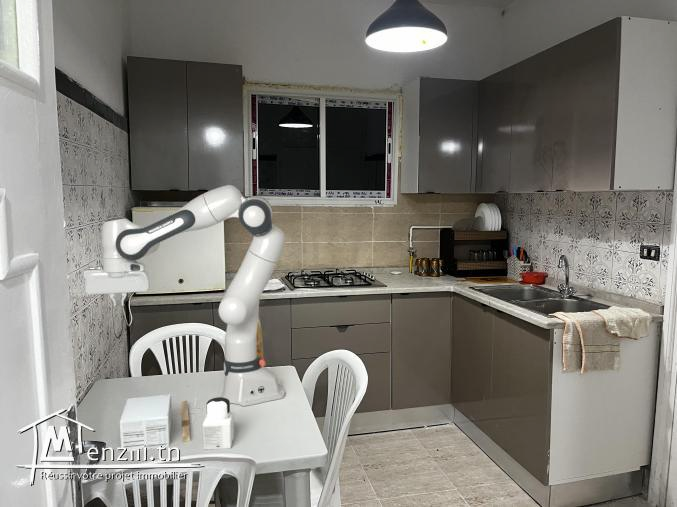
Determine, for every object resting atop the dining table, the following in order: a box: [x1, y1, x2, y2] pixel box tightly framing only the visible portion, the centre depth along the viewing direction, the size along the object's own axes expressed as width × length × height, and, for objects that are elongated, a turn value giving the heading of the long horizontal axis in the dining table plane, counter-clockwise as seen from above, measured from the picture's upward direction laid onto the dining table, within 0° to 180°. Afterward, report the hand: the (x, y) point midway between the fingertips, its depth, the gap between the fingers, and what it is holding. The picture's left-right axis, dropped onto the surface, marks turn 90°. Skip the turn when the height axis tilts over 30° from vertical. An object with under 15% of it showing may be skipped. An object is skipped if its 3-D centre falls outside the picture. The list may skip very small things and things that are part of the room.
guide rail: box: [180, 400, 191, 443], centre depth 159 cm, size 2×26×2 cm, turn 18°
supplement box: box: [119, 394, 173, 453], centre depth 149 cm, size 17×13×9 cm
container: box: [202, 396, 235, 450], centre depth 145 cm, size 8×8×13 cm
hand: (119, 305), depth 171 cm, fingers closed
